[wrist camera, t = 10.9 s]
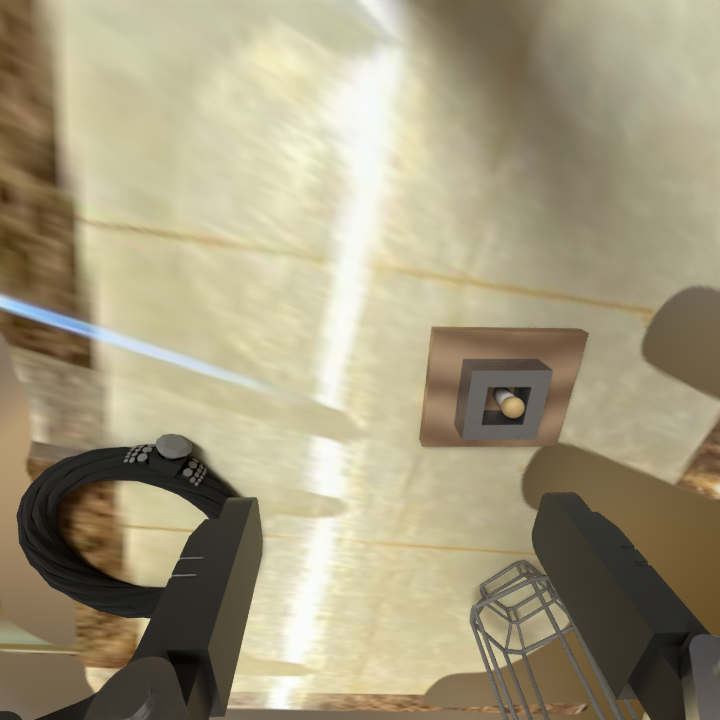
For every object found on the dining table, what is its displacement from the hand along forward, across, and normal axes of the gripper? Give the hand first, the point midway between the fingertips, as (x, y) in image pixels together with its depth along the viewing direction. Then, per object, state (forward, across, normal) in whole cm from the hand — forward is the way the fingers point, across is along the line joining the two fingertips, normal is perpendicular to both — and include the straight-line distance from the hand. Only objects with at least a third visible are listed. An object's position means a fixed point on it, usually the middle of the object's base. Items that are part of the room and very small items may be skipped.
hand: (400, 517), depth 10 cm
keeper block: (+28, -16, +10) cm, 33 cm away
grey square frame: (+26, -15, +10) cm, 32 cm away
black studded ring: (+28, +26, +30) cm, 49 cm away
